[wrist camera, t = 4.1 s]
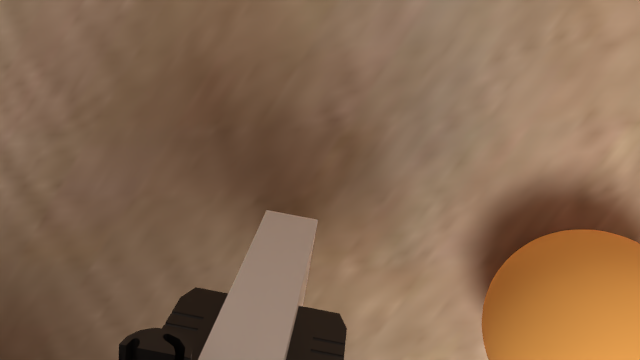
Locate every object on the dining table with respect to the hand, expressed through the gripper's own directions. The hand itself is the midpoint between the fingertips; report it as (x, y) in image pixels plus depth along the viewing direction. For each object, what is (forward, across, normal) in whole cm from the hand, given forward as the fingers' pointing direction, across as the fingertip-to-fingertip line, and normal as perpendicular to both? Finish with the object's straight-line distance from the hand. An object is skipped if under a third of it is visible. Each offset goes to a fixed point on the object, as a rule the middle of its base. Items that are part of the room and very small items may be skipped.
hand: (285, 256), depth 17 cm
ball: (-1, +8, 0) cm, 9 cm away
